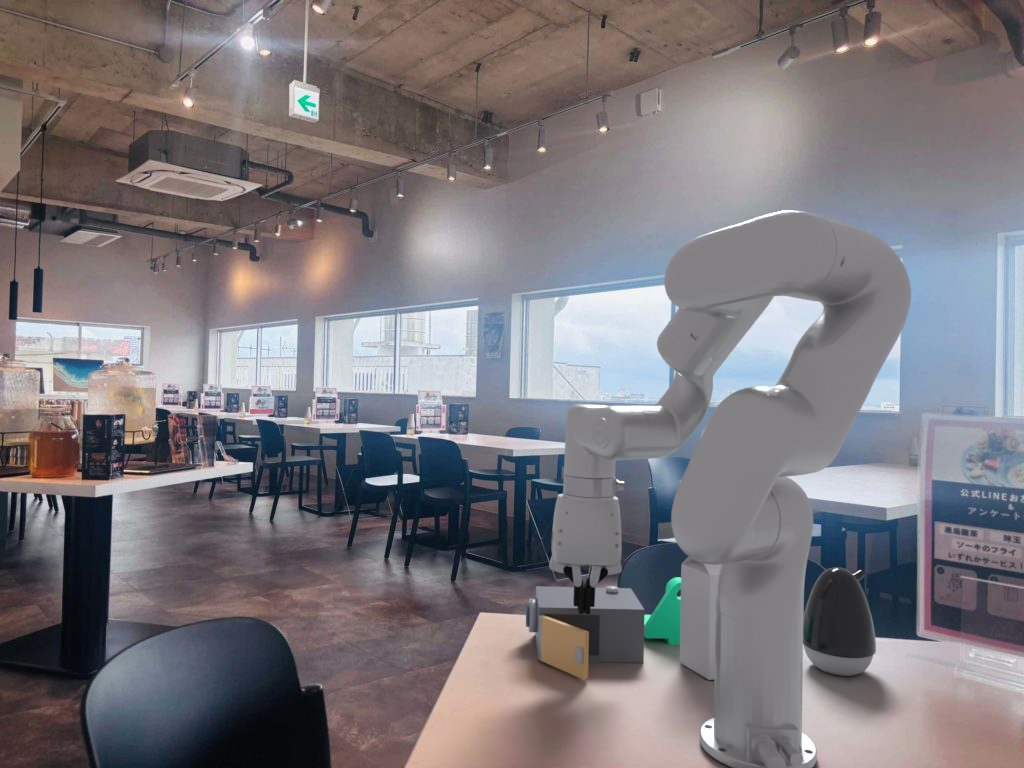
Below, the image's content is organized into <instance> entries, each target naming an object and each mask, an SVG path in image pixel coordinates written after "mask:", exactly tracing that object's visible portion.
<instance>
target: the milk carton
mask: <svg viewBox="0 0 1024 768" xmlns="http://www.w3.org/2000/svg"><path fill="white" fill-rule="evenodd" d="M687 556H688V555H687ZM721 565H722V564H720V565H711V564H705V563H701V562H698V561H696V560H694V559H692V558H690V557H689V556H688V557H686V558H685V560H684V561H683V562H682V563H681V566H680V567H681V568H680V570H681V571H680V577H681V590H680V596H681V611H680V644H679V663H680V664H681V665H683V666H685V667H686V668H688V669H690V670H691V671H693V672H695V673H696V674H698V675H700V676H701V677H703V678H705V679H706V680H707V681H713V680H715V620H716V589H717V581H718V576H719V572H720V568H721Z"/></svg>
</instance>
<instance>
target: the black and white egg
mask: <svg viewBox="0 0 1024 768" xmlns="http://www.w3.org/2000/svg"><path fill="white" fill-rule="evenodd" d="M864 577H865V571H863V570H862V569H858V570H857V571H855V572H854V573H853V572H851V571H850V570H847V568H843V567H836V566H835V567H831V568H827V569H826V570H824V571H823V572H822V573H821V574H820V575H819V576H818V578H817V580H815V583H814V585H813V587H812V589H811V592H810V594H809V597H808V600H807V603H806V606H805V609H804V618H803V650H804V652H805V654H806V656H807V659H809V661H810V663H812V664H813V665H814V666H815V667H816V668H818V669H820V671H823V672H825V673H827V674H830V675H835V676H840V677H841V676H842V677H852V676H856V675H860V674H861V673H863V672H865V671H866V670H867V669H868V668H869V666H870V665H871V664H872V661H873V658H874V655H875V654H876V653H877V640H876V634H875V627H874V622H873V617H872V613H871V608H870V606H869V602H868V600H867V597H866V595H865V592H864V589H863V588H862V585H861V583H860V581H861V579H863V578H864Z"/></svg>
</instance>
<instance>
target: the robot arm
mask: <svg viewBox="0 0 1024 768" xmlns="http://www.w3.org/2000/svg"><path fill="white" fill-rule="evenodd" d="M664 289H665V293H666V296H667V297H668V299H669V300H670V301H671V302H672V304H673V305H675V306H676V307H677V308H678V309H677V310H676V312H675V313H674V315H673V316H672V317H671V318H670V320H669V321H668V322H667V324H666V326H665V327H664V328H663V329H662V331H661V332H660V333H659V334H658V337H657V341H656V347H657V351H658V353H659V355H660V356H661V358H662V360H663V361H664V362H665V363H666V364H667V366H668V367H670V368H671V369H672V371H674V372H675V373H674V377H673V380H672V382H671V384H670V385H669V387H668V389H667V390H666V391H665V393H664V394H662V397H661V398H660V399H659V400H658V401H657V403H656V404H654V405H605V404H593V403H592V404H588V403H586V404H585V403H578V404H573V405H570V406H569V408H567V411H566V419H565V435H564V436H565V437H564V440H565V441H564V443H565V444H564V460H563V461H564V463H563V465H564V467H563V487H562V488H563V489H562V493H558V494H557V497H556V502H555V506H554V510H553V511H554V513H553V521H552V531H551V544H550V545H551V558H550V561H549V565H548V566H549V570H551V571H553V572H556V573H560V574H563V575H565V576H566V577H567V578H568V579H569V580H570V581H571V582H572V583H573V587H574V599H573V604H574V606H577V608H578V612H579V614H583V613H584V612H585V613H586V614H590V607H594V605H595V588H597V587H598V585H599V583H601V582H602V580H604V579H605V578H606V577H608V576H612V575H617V574H621V573H622V571H623V569H622V568H623V567H622V563H621V560H622V552H623V551H622V519H621V507H620V502H619V498H618V497H617V496H616V493H617V492H620V491H624V490H625V481H624V480H623V481H622V480H621V481H620V480H618V479H617V478H616V461H631V460H632V461H633V460H643V459H644V460H645V459H646V460H647V459H651V460H652V459H662V458H666V457H668V456H671V455H672V454H674V453H675V452H677V451H679V449H680V448H681V447H682V446H683V445H684V444H686V442H687V441H688V440H689V438H691V436H692V435H693V434H694V433H695V431H696V430H697V429H698V427H699V426H700V425H701V424H702V422H703V421H704V419H705V418H706V415H707V413H708V411H709V408H710V405H711V400H712V396H713V389H714V376H715V374H716V372H717V371H718V370H719V369H720V367H721V366H722V365H723V363H724V362H725V361H726V360H727V358H728V357H729V356H730V354H731V353H732V352H733V351H734V349H735V348H737V345H738V344H739V343H740V342H741V341H742V339H743V338H744V336H745V335H746V334H747V333H748V332H749V331H750V330H751V328H752V327H753V326H754V324H755V323H756V322H757V320H758V319H759V318H760V317H761V315H763V313H764V311H765V310H766V309H767V308H768V306H769V305H770V304H771V302H772V301H773V300H774V299H773V298H774V297H790V298H794V299H795V298H796V299H801V300H806V301H812V302H819V303H820V304H821V305H822V306H823V310H822V312H821V314H820V316H818V318H817V319H816V320H815V321H814V322H813V323H812V324H811V325H810V326H809V327H808V328H807V330H806V331H804V333H803V335H802V336H801V338H800V339H799V341H798V342H797V344H796V345H795V347H794V349H793V351H792V354H791V357H790V359H789V360H788V364H787V365H786V367H785V369H784V371H783V372H782V374H781V376H780V378H779V379H778V381H777V382H776V383H775V385H773V386H762V385H761V386H750V387H743V388H741V389H739V390H737V391H734V392H732V393H731V394H729V395H727V397H725V398H724V399H723V400H722V401H721V402H720V403H719V404H718V405H717V406H716V407H715V408H714V410H713V412H712V413H711V414H710V416H709V417H708V419H707V421H706V424H705V425H704V428H703V429H702V432H701V435H700V436H699V439H698V440H697V444H696V445H695V448H694V449H693V452H692V455H691V457H690V459H689V462H688V464H687V466H686V467H685V468H686V469H685V471H684V473H683V476H682V478H681V479H680V483H678V484H679V485H678V487H677V490H676V491H675V492H676V493H675V494H674V498H673V502H672V507H671V511H670V512H671V513H670V514H671V515H670V519H671V520H670V523H671V529H672V534H673V537H674V540H675V542H676V543H677V545H678V547H679V548H680V550H681V551H682V553H684V554H685V555H686V556H689V557H690V558H692V559H694V560H696V561H698V562H701V563H705V564H711V565H720V564H722V565H721V568H720V572H719V576H718V581H717V589H716V620H715V679H714V693H713V694H714V695H713V696H714V697H713V699H714V700H713V703H714V705H713V707H714V708H713V717H712V718H710V719H708V720H706V721H705V722H704V723H703V724H702V725H701V726H700V731H699V742H700V745H701V746H702V748H703V750H704V751H705V752H707V754H708V755H710V756H711V757H712V758H713V759H715V760H717V762H720V763H721V764H724V765H725V766H728V767H730V768H813V767H815V765H816V763H817V756H818V754H817V753H818V752H817V751H818V750H817V748H816V745H815V743H814V742H813V741H812V740H811V739H810V738H809V736H807V734H805V733H804V732H803V678H804V677H803V671H804V670H803V669H804V668H803V667H804V665H803V664H804V658H803V657H804V644H803V618H804V613H805V609H804V608H805V606H804V605H805V583H806V580H805V579H806V570H807V564H808V558H809V553H810V548H811V543H812V537H813V530H814V514H813V508H812V505H811V502H810V499H809V497H808V496H807V494H806V492H805V491H804V489H803V488H802V487H801V486H800V485H799V484H798V483H797V482H796V481H795V480H793V479H792V478H790V477H797V476H804V475H809V474H814V473H817V472H820V471H822V470H824V469H826V468H827V467H829V466H830V465H831V464H833V461H834V460H835V459H836V458H837V456H838V454H839V453H840V450H841V448H843V447H842V446H843V445H844V443H845V442H846V439H847V437H848V435H849V433H850V431H851V429H852V427H853V425H854V423H855V421H856V419H857V417H858V416H859V413H860V412H861V410H862V408H863V406H864V403H865V402H866V400H867V398H868V395H869V394H870V392H871V390H872V387H873V385H874V382H875V381H876V380H877V379H876V378H877V377H878V375H879V373H880V371H881V369H882V367H883V366H884V364H885V362H886V360H887V358H888V356H889V355H890V353H891V351H892V350H893V348H894V347H895V344H896V342H897V341H898V339H899V337H900V334H901V333H902V331H903V328H904V326H905V323H906V321H907V318H908V315H909V311H910V307H911V298H912V297H911V295H912V294H911V293H912V292H911V291H912V290H911V282H910V277H909V274H908V271H907V268H906V266H905V264H904V263H903V261H902V259H901V258H900V256H899V255H898V254H897V252H896V251H895V250H894V249H893V248H892V247H891V246H890V245H889V244H888V243H887V242H885V241H884V240H883V239H881V238H880V237H878V236H877V235H875V234H873V233H871V232H870V231H868V230H865V229H863V228H860V227H858V226H856V225H852V224H849V223H846V222H843V221H839V220H835V219H833V218H832V219H831V218H829V217H827V216H823V215H820V214H816V213H813V212H808V211H805V210H781V211H777V212H772V213H768V214H764V215H762V216H758V217H755V218H753V219H749V220H746V221H743V222H740V223H736V224H734V225H730V226H727V227H726V226H725V227H723V228H720V229H717V230H714V231H711V232H708V233H705V234H702V235H699V236H697V237H695V238H693V239H691V240H689V241H688V242H686V243H685V244H683V245H682V246H681V247H679V249H677V251H675V253H674V254H673V255H672V256H671V259H670V260H669V262H668V264H667V266H666V269H665V272H664ZM581 567H589V570H588V573H587V574H588V576H587V577H586V579H585V582H584V580H583V578H582V571H581Z"/></svg>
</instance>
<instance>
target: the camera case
mask: <svg viewBox="0 0 1024 768" xmlns="http://www.w3.org/2000/svg"><path fill="white" fill-rule="evenodd" d="M528 599H529V600H528V603H525V627H526V628H528V633H534V636H535V637H536V638H535V637H534V638H535V646H536V655H537V656H538V647H539V615H545V616H547V617H550V618H553V619H555V620H558V621H561V622H564V623H566V624H569V625H572V626H575V627H577V628H580V629H583V630H586V631H588V632H589V654H588V663H589V662H590V663H591V662H592V663H631V664H632V663H633V664H635V663H637V664H638V663H640V664H644V663H645V662H644V661H645V658H644V656H645V652H644V650H645V635H644V615H645V608H644V607H643V605H642V603H641V602H640V600H639V599H638V597H637V595H636V594H635V593H634V591H633V590H632V588H627V587H626V588H625V587H619V586H614V585H608V586H606V587H595V605H594V607H590V614H586V613H585V612H584V613H583V614H579V612H578V608H577V606H574V604H573V599H574V586H542V585H541V586H537V585H536V586H535V598H528Z"/></svg>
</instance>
